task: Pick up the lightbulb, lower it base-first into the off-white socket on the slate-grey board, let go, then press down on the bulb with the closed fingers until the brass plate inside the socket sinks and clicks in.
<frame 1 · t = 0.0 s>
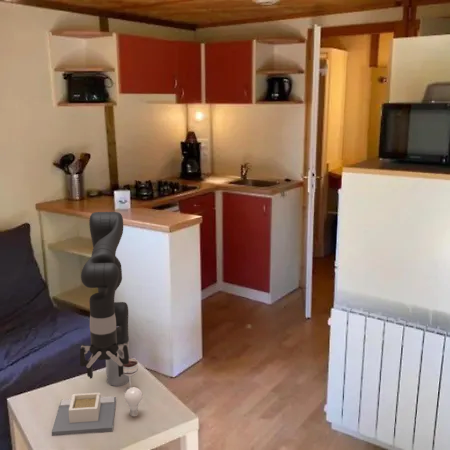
hand: (105, 376, 156), 29 cm above the table, fingers open, 8 cm apart
lightbulb: (134, 416, 185), on the table
wineglass: (130, 390, 200), on the table
socket plunger: (85, 406, 183), point 4 cm above the table, slide at 0.0 cm
socket board: (85, 417, 184), on the table
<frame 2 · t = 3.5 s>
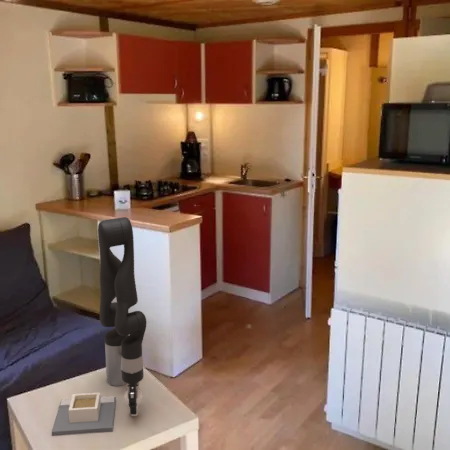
hand: (133, 407, 184), 3 cm above the table, fingers closed on lightbulb, 6 cm apart
lightbulb: (134, 416, 185), on the table, touching gripper
everything else where it was.
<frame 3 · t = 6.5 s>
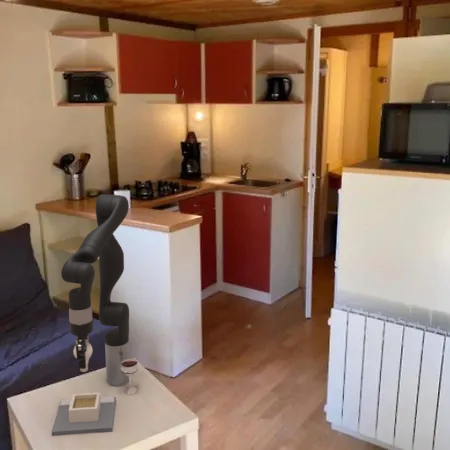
hand: (83, 362, 178), 22 cm above the table, fingers closed on lightbulb, 6 cm apart
lightbulb: (84, 371, 179), point 18 cm above the table, touching gripper
everything else where it was.
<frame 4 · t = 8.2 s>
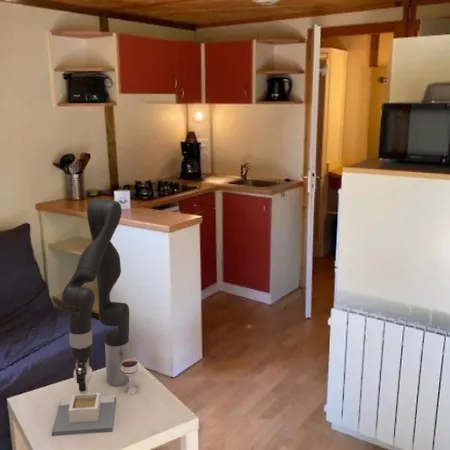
hand: (83, 385, 180), 13 cm above the table, fingers closed on lightbulb, 6 cm apart
lightbulb: (84, 393, 181), point 9 cm above the table, touching gripper
everything else where it was.
when the fingers open (9 cm above the table, at t = 9.6 s): lightbulb drops 3 cm, resting on socket plunger.
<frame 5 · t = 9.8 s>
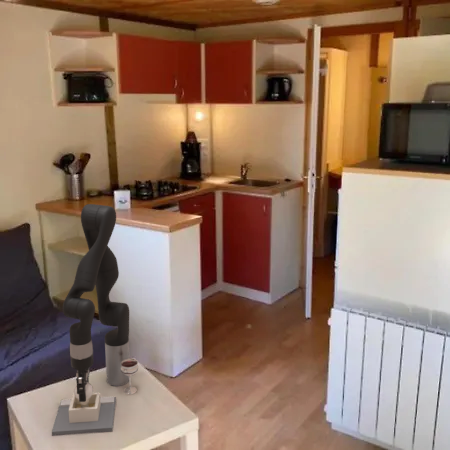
hand: (84, 394, 181), 9 cm above the table, fingers open, 8 cm apart
lightbulb: (85, 410, 183), point 3 cm above the table, touching socket plunger
socket plunger: (85, 411, 183), point 2 cm above the table, slide at 2.0 cm, touching lightbulb
everything else where it was.
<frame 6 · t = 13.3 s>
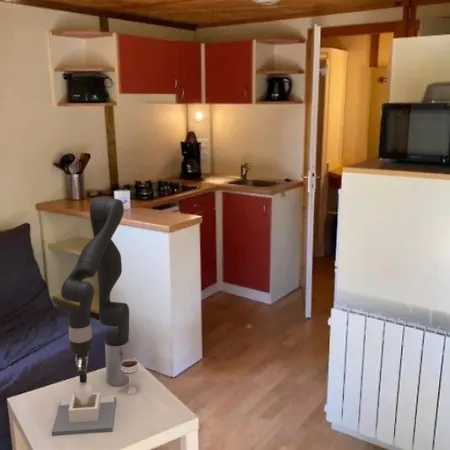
hand: (83, 381, 180), 14 cm above the table, fingers closed
nothing on the table moved.
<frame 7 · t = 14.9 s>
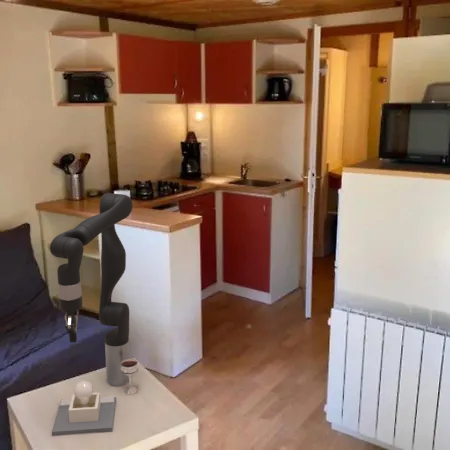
hand: (73, 341, 177), 29 cm above the table, fingers closed
nothing on the table moved.
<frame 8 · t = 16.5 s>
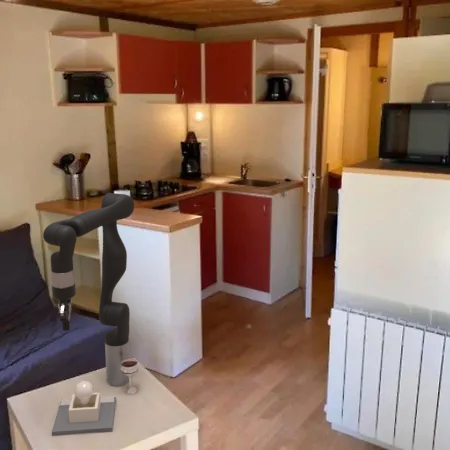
hand: (66, 329, 177), 33 cm above the table, fingers closed
nothing on the table moved.
at the end: socket plunger slide at 2.0 cm; lightbulb 0.1 cm off-centre on the socket board, point 2.8 cm above the socket board's base; lightbulb tilted 1° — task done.
